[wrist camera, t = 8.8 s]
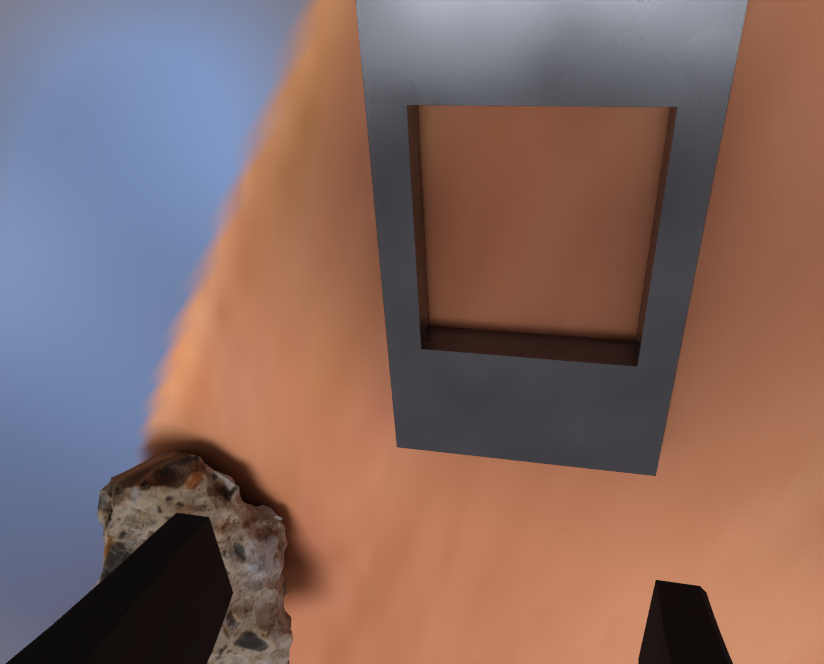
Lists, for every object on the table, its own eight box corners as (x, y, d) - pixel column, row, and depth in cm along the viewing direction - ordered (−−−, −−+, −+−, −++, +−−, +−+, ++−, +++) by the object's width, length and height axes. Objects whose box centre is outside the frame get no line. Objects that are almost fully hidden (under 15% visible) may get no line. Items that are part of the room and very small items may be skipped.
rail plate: (869, -717, 10) (901, -785, 9) (653, 448, 22) (656, 478, 21) (321, -602, 11) (294, -646, 10) (405, 422, 24) (396, 449, 23)
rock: (24, 502, 29) (74, 759, 27) (19, 480, 23) (82, 809, 21) (234, 449, 33) (289, 666, 31) (276, 418, 27) (348, 685, 25)
